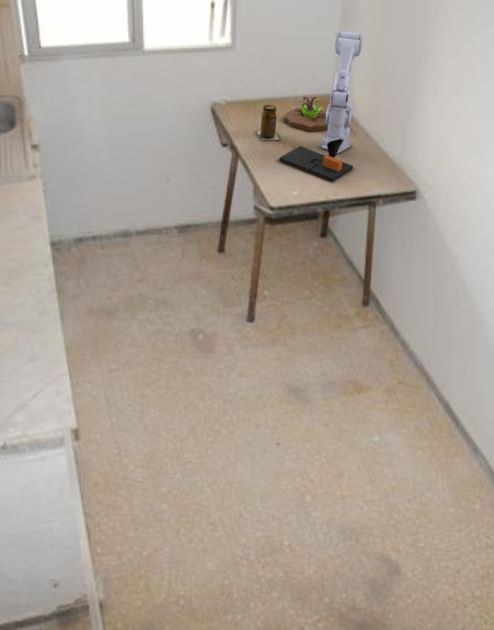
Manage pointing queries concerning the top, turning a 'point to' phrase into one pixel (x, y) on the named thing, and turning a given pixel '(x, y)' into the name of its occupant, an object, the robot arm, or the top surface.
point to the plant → (307, 117)
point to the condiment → (268, 123)
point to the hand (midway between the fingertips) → (332, 156)
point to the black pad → (302, 158)
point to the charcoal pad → (330, 168)
